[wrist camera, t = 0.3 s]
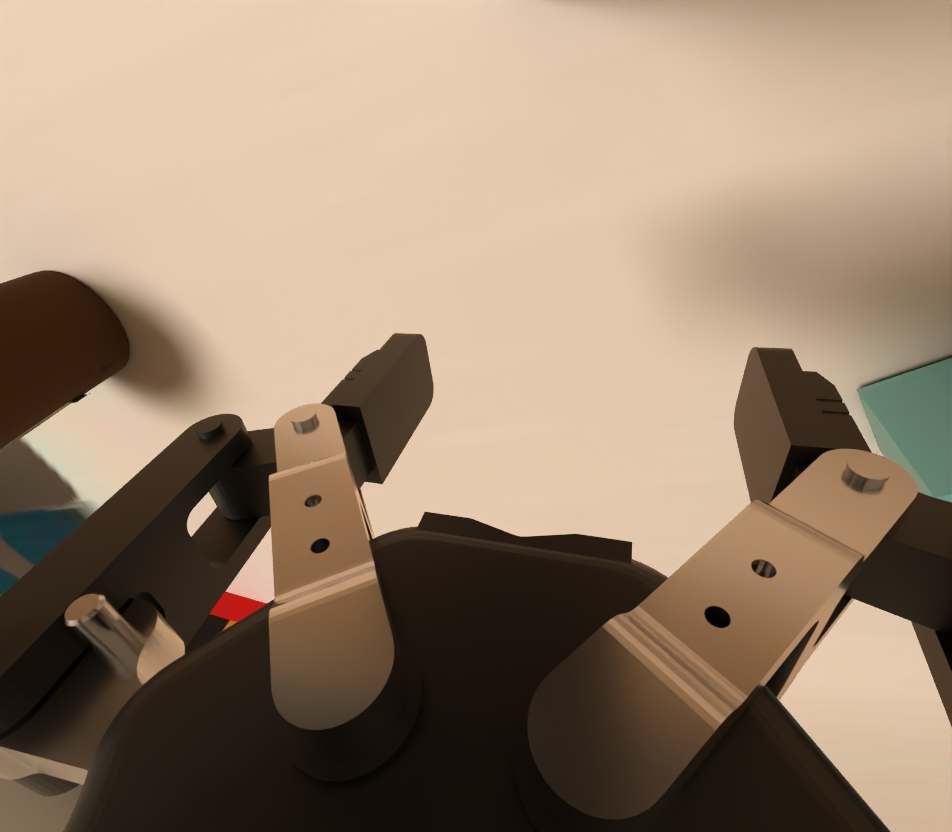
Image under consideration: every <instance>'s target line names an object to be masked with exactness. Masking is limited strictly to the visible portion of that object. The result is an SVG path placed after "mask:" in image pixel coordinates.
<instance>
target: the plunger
mask: <svg viewBox="0 0 952 832" xmlns="http://www.w3.org/2000/svg"><path fill="white" fill-rule="evenodd" d="M857 392H858V394H859V397H860V400H861V402H862V405H863V407H864V410H865V413H866V415H867V418H868V420H869V423H870V426H871V428H872V431H873V433H874V436H875V439H876V441H877V444H878V446H879V449H880V451H881V452H882V454H883V455H884V457H885V458H887V459H889V460H891V461H893V462H895V463H897V464H898V465H900V466H901V467H903V468H904V469H905V470H906V471H907V472H909V473H910V474H911V476H912V477H913V478H914V479H915V481H916V483H917V486H918V492H920V493H923V494H925V495H928V496H931V497H934V498H937V499H941V500H945V501H948V502H952V358H949V359H946V360H943V361H940V362H937V363H934V364H931V365H928V366H925V367H922V368H919V369H916V370H913V371H910V372H907V373H904V374H901V375H898V376H895V377H892V378H889V379H887V380H884V381H881V382H878V383H875V384H872V385H869V386H866V387H863V388H860V389H857Z"/></svg>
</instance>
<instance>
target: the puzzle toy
mask: <svg viewBox="0 0 952 832" xmlns="http://www.w3.org/2000/svg"><path fill="white" fill-rule="evenodd" d="M264 605H266V603H263V602H259V601H256V600H252V599H249V598H246V597H242V596H239V595H235V594H232V593H228V592H225V593H224V594H223V595H222V597H221V598H220V600H219V601H218V602H217V604H216V605H215V607H214V608H213V609H212V611H211V612H210V614H209V615H208V617H207V618H206V619H205V621H204V622H203V624H202V625H201V626H200V628H199V629H198V631H197V632H196V634H195V635H194V636H193V638H192V639H191V641H190V642H189V643H188V645H187V646H186V648H185V654H186V653H188V652H189V651H191V650H193V649H194V648H196V647H197V646H199V645H201V644H202V643H204V642H206V641H207V640H209V639H210V638H212V637H214V636H215V635H217V634H219V633H220V632H222V631H223V630H225V629H227V628H228V627H230V626H232V625H233V624H235V623H236V622H238V621H240V620H241V619H243V618H245V617H246V616H248V615H249V614H251V613H253V612H254V611H256V610H257V609H259V608H261V607H262V606H264Z"/></svg>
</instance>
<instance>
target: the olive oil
mask: <svg viewBox="0 0 952 832" xmlns="http://www.w3.org/2000/svg"><path fill="white" fill-rule="evenodd" d="M128 357H129V346H128V341H127V338H126V335H125V332H124V330H123V328H122V326H121V324H120V323H119V321H118V320H117V318H116V317H115V315H114V314H113V312H112V311H111V310H110V309H109V308H108V306H107V305H106V304H105V303H104V302H103V301H102V300H101V299H100V298H99V297H98V296H97V295H96V294H94V293H93V292H92V291H91V290H90V289H88V288H87V287H85V286H84V285H82V284H81V283H79V282H78V281H76V280H74V279H72V278H70V277H68V276H65V275H63V274H60V273H56V272H51V271H40V272H35V273H32V274H28V275H25V276H22V277H19V278H16V279H13V280H10V281H7V282H4V283H1V284H0V452H1V451H3V450H4V449H6V448H7V447H9V446H10V445H11V444H12V443H14V442H15V441H17V440H19V439H20V438H21V437H23V436H24V435H26V434H27V433H29V432H30V431H31V430H33V429H34V428H36V427H37V426H39V425H40V424H42V423H43V422H44V421H46V420H47V419H49V418H50V417H52V416H53V415H55V414H56V413H57V412H59V411H60V410H62V409H63V408H65V407H66V406H68V405H69V404H70V403H75V402H78V401H79V400H81V399H82V398H84V397H85V396H87V395H88V394H87V395H86V394H85V393H86V392H88V391H89V390H91V389H92V388H94V387H95V386H97V385H98V384H100V383H101V382H103V381H104V380H106V379H107V378H109V377H111V376H112V375H114V374H115V373H116V372H118V371H119V370H121V369H122V368H123V367H124V366H125V365H126V363H127V361H128ZM89 394H90V393H89Z"/></svg>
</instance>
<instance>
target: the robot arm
mask: <svg viewBox="0 0 952 832" xmlns="http://www.w3.org/2000/svg"><path fill="white" fill-rule="evenodd" d="M432 398H433V380H432V374H431V369H430V363H429V357H428V352H427V346H426V341H425V339H424V337H423V336H422V335H421V334H402V333H395V334H393V335H392V336H391V337H390V339H389V340H388V341H387V342H386V343H385V344H384V345H383V346H382V348H381V349H380V350H376V351H374V352H372V353H371V354H369V355H367V356H366V357H364V358H362V359H361V360H360V361H359V362H358V363H357V365H356V366H355V367H354V368H353V369H352V371H350V372H349V373H348V374H347V375H346V377H345V380H342V381H341V382H340V383H339V384H338V385H337V386H336V387H335V389H334V390H333V391H332V392H331V393H330V394H329V395H328V396H327V397H326V398H325V400H324V401H323V402H322V403H321V404H308V405H303V406H300V407H297V408H295V409H292V410H291V411H289V412H287V413H285V414H284V415H283V416H282V417H280V418H279V419H278V421H277V422H276V424H275V426H274V428H271V429H263V430H255V431H247V430H246V428H245V425H244V423H243V421H242V419H241V418H240V417H239V416H237V415H234V414H220V415H215V416H212V417H208V418H206V419H203V420H201V421H199V422H197V423H195V424H193V425H192V426H190V427H189V428H188V429H187V430H185V431H184V432H183V433H182V434H181V435H180V436H179V437H178V438H177V439H175V440H174V441H173V442H172V443H171V444H170V445H169V446H168V447H167V448H165V449H164V450H163V451H162V452H161V453H160V454H159V455H158V456H156V457H155V458H154V459H153V460H152V461H151V462H150V463H149V464H148V465H146V466H145V467H144V468H143V469H142V470H141V471H140V472H139V473H138V474H136V475H135V476H134V477H133V478H132V479H131V480H130V481H129V482H128V483H126V484H125V485H124V486H123V487H122V488H121V489H120V490H119V491H118V492H116V493H115V494H114V495H113V496H112V497H111V498H110V499H109V500H108V501H106V502H105V503H104V504H103V505H102V506H101V507H100V508H99V509H98V510H96V511H95V512H94V513H93V514H92V515H91V516H90V517H89V518H87V519H86V520H85V521H84V522H83V523H82V524H81V525H80V526H79V527H77V528H76V529H75V530H74V531H73V532H72V533H71V534H70V535H69V536H67V537H66V538H65V539H64V540H63V541H62V542H61V543H60V544H59V545H57V546H56V547H55V548H54V549H53V550H52V551H51V552H50V553H49V554H47V555H46V556H45V557H44V558H43V559H42V560H41V561H40V562H39V563H37V564H36V565H35V566H34V567H33V568H32V569H31V570H30V571H29V572H27V573H26V574H25V575H24V576H23V577H22V578H21V579H20V580H18V581H17V582H16V583H15V584H14V585H13V586H12V587H11V588H10V589H8V590H7V591H6V592H5V593H4V594H3V595H2V596H1V597H0V777H1V778H4V779H12V780H14V781H15V782H17V783H19V784H21V785H23V786H24V787H26V788H28V789H30V790H32V791H33V792H35V793H37V794H38V795H42V796H55V795H59V794H62V793H65V792H67V791H69V790H71V789H73V788H75V787H76V786H78V785H79V784H82V785H83V787H82V790H81V793H80V796H79V798H78V800H77V803H76V805H75V807H74V810H73V812H72V815H71V817H70V819H69V821H68V823H67V825H66V827H65V829H64V831H63V832H890V830H889V829H888V828H887V827H886V826H885V825H884V823H883V822H882V821H881V820H880V819H879V818H878V816H877V815H876V814H875V813H874V812H873V810H872V809H871V808H870V807H869V806H868V805H867V803H866V802H865V801H864V800H863V799H862V798H861V796H860V795H859V794H858V793H857V792H856V790H855V789H854V788H853V787H852V786H851V785H850V783H849V782H848V781H847V780H846V779H845V778H844V776H843V775H842V774H841V773H840V772H839V770H838V769H837V768H836V767H835V766H834V765H833V763H832V762H831V761H830V760H829V759H828V758H827V756H826V755H825V754H824V753H823V752H822V750H821V749H820V748H819V747H818V746H817V745H816V743H815V742H814V741H813V740H812V739H811V738H810V736H809V735H808V734H807V733H806V732H805V730H804V729H803V728H802V727H801V726H800V725H799V723H798V722H797V721H796V720H795V719H794V718H793V716H792V715H791V714H790V713H789V712H788V710H787V709H786V708H785V707H784V706H783V705H782V703H781V702H780V701H779V700H780V699H781V697H782V696H783V695H784V693H785V692H786V690H787V689H788V688H789V686H790V685H791V683H792V682H793V680H794V679H795V677H796V676H797V674H798V673H799V671H800V670H801V668H802V667H803V665H804V664H805V663H806V661H807V660H808V659H809V657H810V656H811V655H812V653H813V652H814V651H815V649H816V648H817V647H818V645H819V644H820V643H821V642H822V640H823V639H824V638H825V636H826V635H827V634H828V633H829V631H830V630H831V629H832V627H833V626H834V625H835V623H836V622H837V621H838V620H839V618H840V617H841V616H842V614H843V613H844V612H845V610H846V609H847V608H848V607H849V605H850V604H851V603H852V601H853V600H854V599H856V600H859V601H861V602H864V603H866V604H869V605H871V606H874V607H876V608H879V609H882V610H884V611H887V612H889V613H892V614H894V615H897V616H900V617H902V618H905V619H907V620H910V621H911V622H912V625H913V627H914V630H915V632H916V635H917V638H918V640H919V643H920V645H921V648H922V651H923V653H924V656H925V658H926V661H927V664H928V666H929V669H930V671H931V674H932V677H933V679H934V682H935V684H936V687H937V690H938V692H939V695H940V697H941V700H942V703H943V705H944V708H945V710H946V713H947V716H948V718H949V721H950V723H951V726H952V502H948V501H945V500H941V499H937V498H934V497H931V496H928V495H925V494H923V493H920V492H918V486H917V483H916V481H915V479H914V478H913V477H912V476H911V474H910V473H909V472H907V471H906V470H905V469H904V468H903V467H901V466H900V465H898V464H897V463H895V462H893V461H891V460H889V459H887V458H885V457H883V456H880V455H877V454H874V453H872V452H871V451H870V449H869V447H868V445H867V443H866V441H865V440H864V438H863V436H862V434H861V432H860V431H859V429H858V427H857V425H856V423H855V422H854V420H853V418H852V416H850V415H849V411H848V409H847V407H846V405H845V404H844V403H842V398H841V396H840V395H839V393H838V391H837V389H836V387H835V386H834V385H833V384H832V383H831V382H829V381H828V380H827V379H825V378H824V377H822V376H821V375H820V374H818V373H817V372H809V371H802V369H801V367H800V365H799V363H798V361H797V358H796V356H795V354H794V352H793V350H792V349H785V348H758V347H754V348H752V349H751V351H750V353H749V356H748V360H747V364H746V367H745V371H744V375H743V379H742V383H741V387H740V391H739V394H738V398H737V402H736V407H735V413H734V430H735V435H736V439H737V443H738V448H739V452H740V456H741V461H742V465H743V470H744V474H745V478H746V483H747V487H748V491H749V496H750V500H751V503H750V504H749V505H748V506H747V507H746V508H745V509H744V510H743V511H741V512H740V513H739V514H738V515H737V516H736V517H735V518H734V519H733V520H732V521H730V522H729V523H728V524H727V525H726V526H725V527H724V528H723V529H722V530H721V531H719V532H718V533H717V534H716V535H715V536H714V537H713V538H712V539H711V540H710V541H709V542H707V543H706V544H705V545H704V546H703V547H702V548H701V549H700V550H699V551H698V552H696V553H695V554H694V555H693V556H692V557H691V558H690V559H689V560H688V561H687V562H685V563H684V564H683V565H682V566H681V567H680V568H679V569H678V570H677V571H676V572H675V573H673V574H672V575H671V576H670V577H669V578H668V577H666V576H665V575H663V574H661V573H660V572H658V571H657V570H655V569H653V568H651V567H649V566H647V565H645V564H643V563H641V562H638V561H635V560H633V559H632V542H628V541H621V540H614V539H607V538H601V537H594V536H587V535H580V534H567V535H549V536H531V537H520V536H515V535H513V534H510V533H507V532H505V531H502V530H500V529H497V528H494V527H492V526H489V525H487V524H484V523H481V522H479V521H476V520H474V519H471V518H464V517H457V516H450V515H443V514H437V513H430V512H425V513H424V515H423V517H422V519H421V521H420V523H419V525H418V527H410V528H404V529H399V530H396V531H392V532H389V533H386V534H383V535H381V536H378V537H376V538H375V537H374V533H373V530H372V526H371V523H370V519H369V516H368V512H367V509H366V505H365V502H364V498H363V495H362V492H361V489H360V488H361V486H362V485H363V483H364V482H372V483H379V484H383V482H384V481H385V479H386V477H387V476H388V474H389V472H390V471H391V469H392V467H393V466H394V464H395V462H396V461H397V459H398V458H399V456H400V454H401V453H402V451H403V449H404V448H405V446H406V444H407V443H408V441H409V439H410V438H411V436H412V434H413V433H414V431H415V429H416V428H417V426H418V424H419V423H420V421H421V419H422V418H423V416H424V415H425V413H426V411H427V410H428V408H429V406H430V404H431V402H432ZM208 492H209V493H210V495H211V497H212V498H213V500H214V502H215V503H216V505H217V508H216V509H215V510H214V511H213V512H212V514H211V515H210V516H209V517H208V518H207V519H206V521H205V522H204V523H203V524H202V525H201V526H200V528H199V529H198V530H197V531H196V532H195V533H194V535H193V536H192V537H191V536H190V535H189V533H188V530H187V519H188V516H189V514H190V512H191V511H192V509H193V508H194V507H195V506H196V505H197V504H198V503H199V501H200V500H201V499H202V498H203V497H204V496H205V495H206V494H207V493H208ZM270 527H271V534H272V553H273V573H274V592H275V599H274V600H272V601H270V602H269V603H267V604H266V605H264V606H262V607H261V608H259V609H257V610H256V611H254V612H253V613H251V614H249V615H248V616H246V617H245V618H243V619H241V620H240V621H238V622H236V623H235V624H233V625H232V626H230V627H228V628H227V629H225V630H223V631H222V632H220V633H219V634H217V635H215V636H214V637H212V638H210V639H209V640H207V641H206V642H204V643H202V644H201V645H199V646H197V647H196V648H194V649H193V650H191V651H189V652H188V653H186V654H185V648H186V646H187V645H188V643H189V642H190V641H191V639H192V638H193V636H194V635H195V634H196V632H197V631H198V629H199V628H200V626H201V625H202V624H203V622H204V621H205V619H206V618H207V617H208V615H209V614H210V612H211V611H212V609H213V608H214V607H215V605H216V604H217V602H218V601H219V600H220V598H221V597H222V595H223V594H224V593H225V591H226V590H227V588H228V587H229V585H230V584H231V583H232V581H233V580H234V578H235V577H236V576H237V574H238V573H239V571H240V570H241V568H242V567H243V566H244V564H245V563H246V561H247V560H248V559H249V557H250V556H251V554H252V553H253V552H254V550H255V549H256V547H257V546H258V544H259V543H260V542H261V540H262V539H263V537H264V536H265V535H266V533H267V532H268V530H269V529H270Z"/></svg>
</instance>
